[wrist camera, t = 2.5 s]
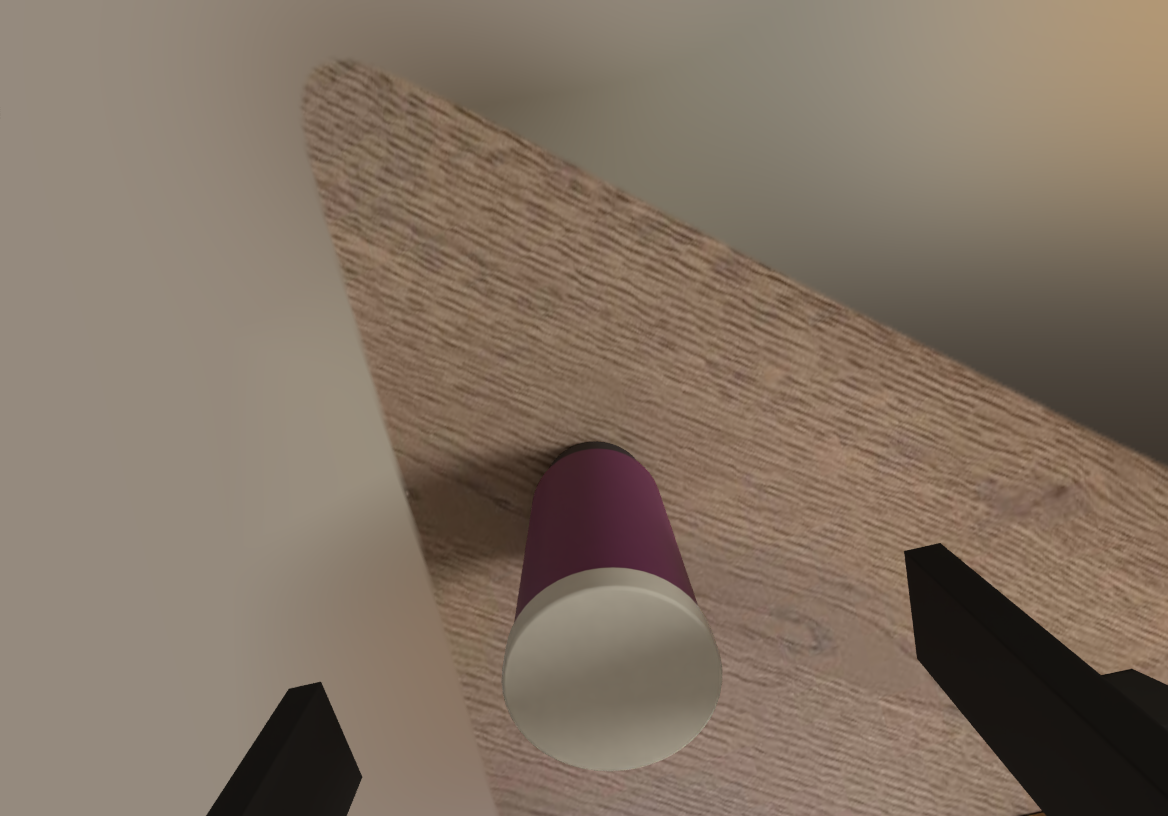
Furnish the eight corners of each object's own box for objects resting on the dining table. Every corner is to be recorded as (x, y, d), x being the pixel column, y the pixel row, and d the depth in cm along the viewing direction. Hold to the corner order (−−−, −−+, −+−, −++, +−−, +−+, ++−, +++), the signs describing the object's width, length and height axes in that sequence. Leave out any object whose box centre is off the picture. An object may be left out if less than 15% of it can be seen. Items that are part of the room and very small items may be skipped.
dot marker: (517, 447, 22) (473, 616, 12) (642, 417, 21) (700, 564, 12) (550, 557, 23) (534, 792, 13) (669, 530, 23) (740, 747, 13)
